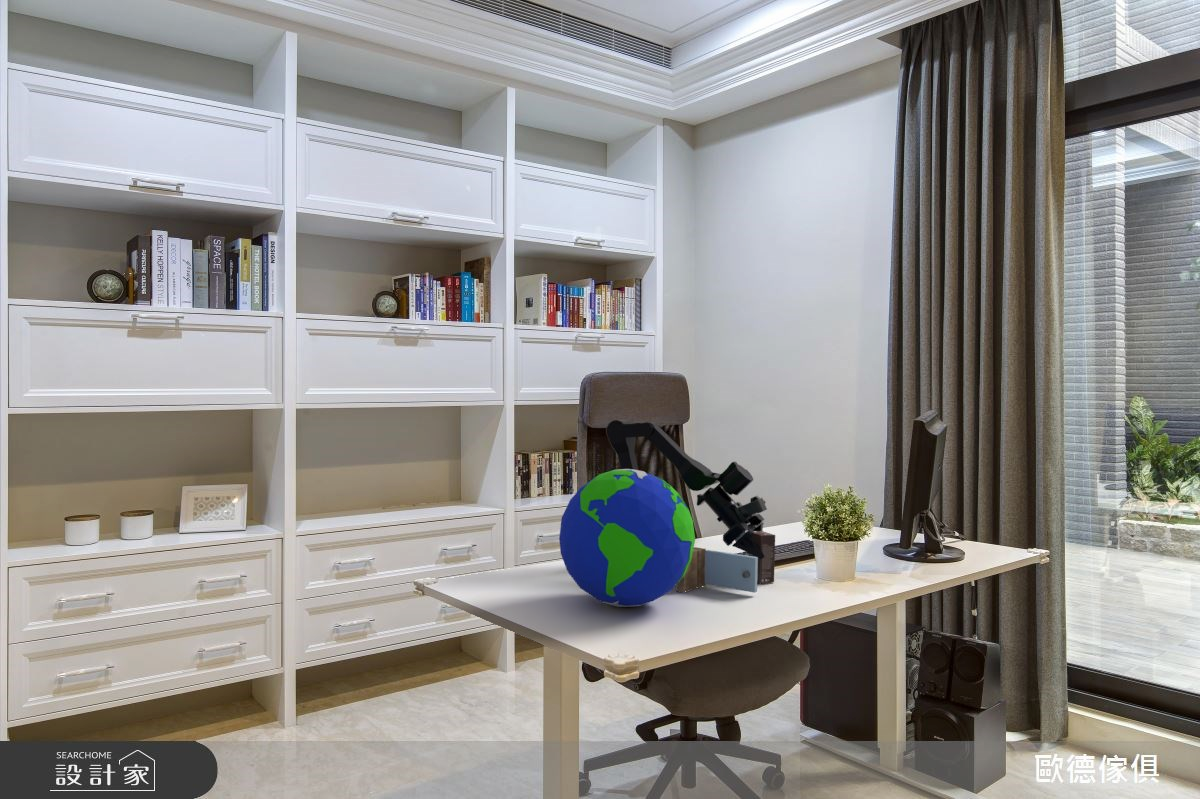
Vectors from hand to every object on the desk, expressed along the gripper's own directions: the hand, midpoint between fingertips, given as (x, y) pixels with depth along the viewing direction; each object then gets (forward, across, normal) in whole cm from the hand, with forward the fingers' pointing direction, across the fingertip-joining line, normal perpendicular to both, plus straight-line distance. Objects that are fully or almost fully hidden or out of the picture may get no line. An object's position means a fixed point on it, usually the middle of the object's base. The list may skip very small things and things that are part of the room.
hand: (767, 555), depth 204 cm
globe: (-11, -36, +20) cm, 43 cm away
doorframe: (-5, -9, +14) cm, 17 cm away
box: (+4, 0, +6) cm, 7 cm away
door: (0, -15, +7) cm, 17 cm away
